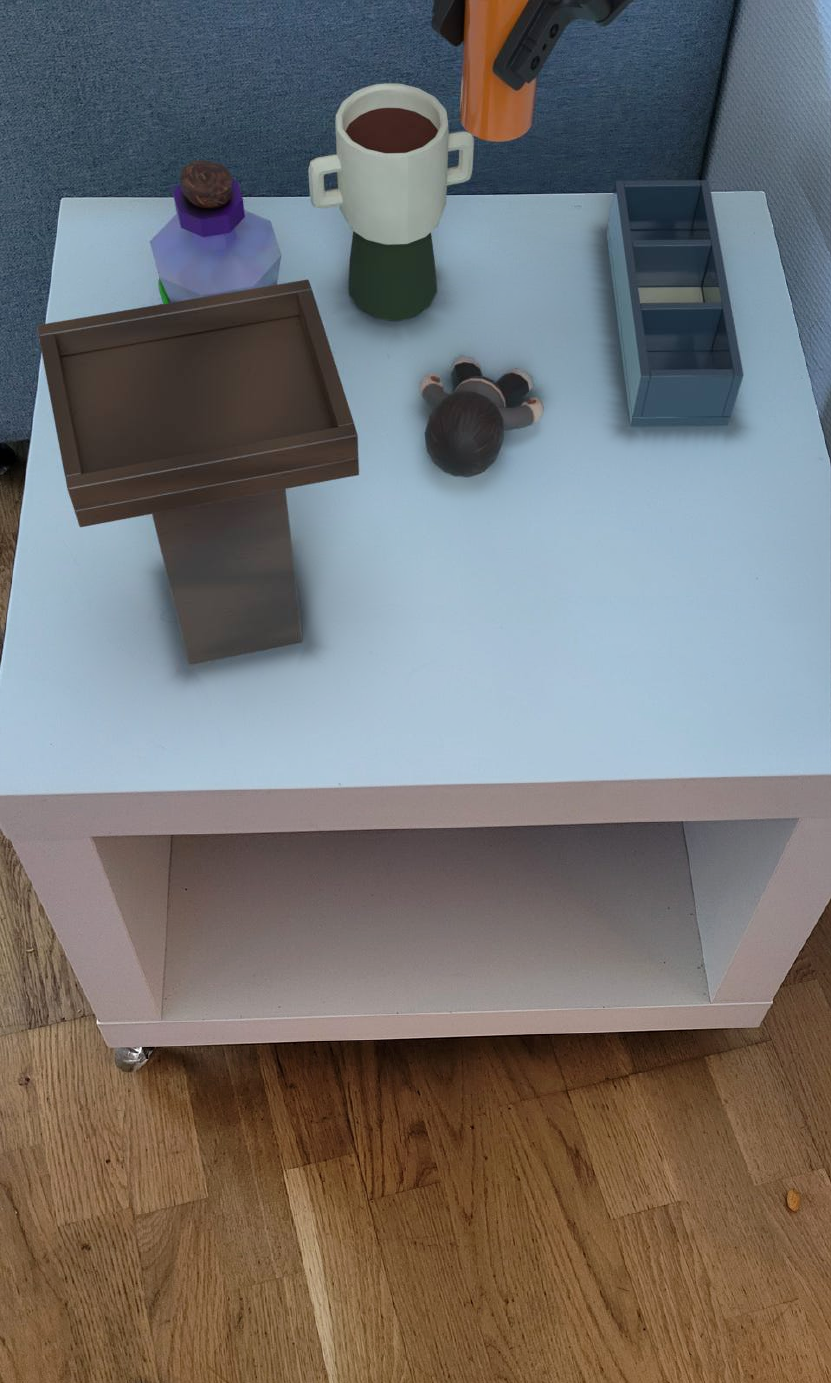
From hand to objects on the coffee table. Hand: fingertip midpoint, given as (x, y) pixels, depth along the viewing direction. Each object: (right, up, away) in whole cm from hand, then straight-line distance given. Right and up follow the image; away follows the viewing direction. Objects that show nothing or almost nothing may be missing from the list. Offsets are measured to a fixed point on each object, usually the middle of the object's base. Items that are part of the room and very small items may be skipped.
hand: (475, 58), depth 67 cm
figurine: (+1, -12, +20) cm, 24 cm away
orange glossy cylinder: (+1, -1, +4) cm, 4 cm away
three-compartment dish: (+14, -3, +25) cm, 29 cm away
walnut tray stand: (-14, -25, +14) cm, 32 cm away
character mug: (-5, -1, +26) cm, 26 cm away
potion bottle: (-16, -4, +24) cm, 29 cm away
